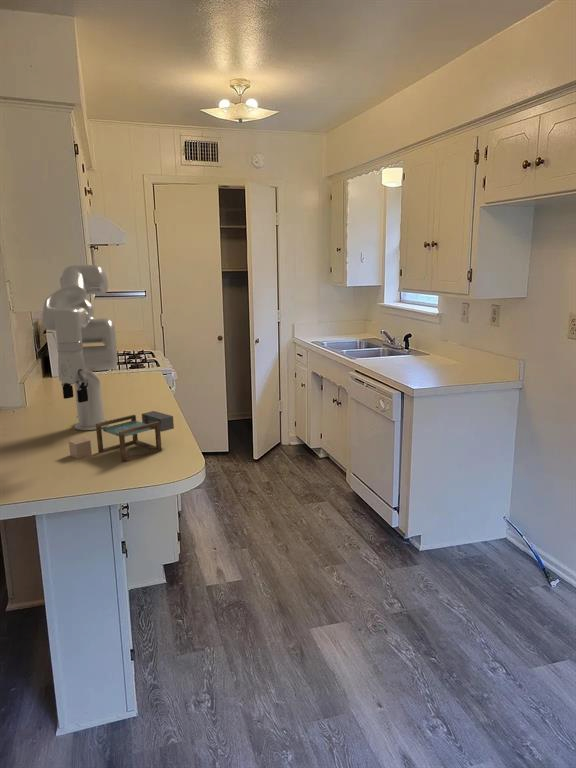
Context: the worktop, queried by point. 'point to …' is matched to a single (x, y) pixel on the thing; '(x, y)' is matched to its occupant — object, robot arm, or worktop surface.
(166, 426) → the chair seat and backrest
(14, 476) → the worktop surface
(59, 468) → the worktop surface
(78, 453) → the pinkish beige cube
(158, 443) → the frame
